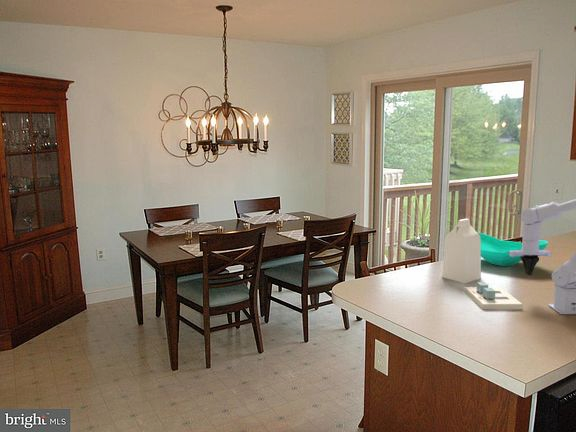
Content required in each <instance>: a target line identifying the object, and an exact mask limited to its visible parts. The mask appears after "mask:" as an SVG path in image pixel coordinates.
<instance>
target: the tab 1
mask: <svg viewBox="0 0 576 432" xmlns="http://www.w3.org/2000/svg"><path fill="white" fill-rule="evenodd" d="M475 287H476V290H477V291H478V292H480V293H483V288H488V287H489V284H487V283H486V282H485V281H480V282H479V281H477V282H476V286H475Z"/></svg>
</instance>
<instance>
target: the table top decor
mask: <svg viewBox="0 0 576 432" xmlns="http://www.w3.org/2000/svg"><path fill="white" fill-rule="evenodd" d="M476 232H477V231H476ZM477 233H478V234H479V236H480V239H481V259H483V260H485V261H486V262H488V263H489V264H492V265H494V266H500V267H508V266H509V267H510V266H513V265H515V264H517V263H520V262H522V260H521V258H520V256H514V257H511V256H509V253H510V251H514V250H522V242H517V241H509V240H502V239H499V238H496V237H494V236H491V235H488V234H485V233H482V232H477ZM548 244H549V241H547V240H542V239H539V250H546V248H547V245H548Z"/></svg>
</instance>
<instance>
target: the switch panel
mask: <svg viewBox="0 0 576 432" xmlns="http://www.w3.org/2000/svg"><path fill="white" fill-rule="evenodd" d="M476 287H477V286H464V293H465V294H466V295H467V296H468V297H469V296H470V297H469V298H470V299H472V300H473V301H474V303H476V304H477V305H478V306H479V307H480V308H481V310H523V303H522V302H520V301H519V300H518V299H517V298H515V297H514V296H513V295H511V294H510V293H509V292H508V291H506V290H505V289H503V288H502V287H501V286H488V288H492V289H494V290H495V291H496V292H495V299H486V298H485V297H484V296H483V293H480V292H478V291H477V290H476Z"/></svg>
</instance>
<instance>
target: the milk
mask: <svg viewBox="0 0 576 432" xmlns="http://www.w3.org/2000/svg"><path fill="white" fill-rule="evenodd" d="M478 233H479V232H478ZM478 233H477V230H476V229H475V228H474V227H473V226H472V225H471V221H470V219H469V218H463V219H459V220H457V225H456V226H455V227H453V228H452V230H451V231H449V232H448V233H447V234H446V236H445V239H444V247H443V249H444V250H443V260H442V261H443V262H442V269H441V271H442V272H441V278H444V279H448V280H451V281H455V282H459V283H462V284H466V283H469V282H474V281H477V280H479V279H480V280H481V279H482V273H481V272H482V269H481V268H482V261H481V259H482V257H481V239H480V236H479V234H478Z"/></svg>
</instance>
